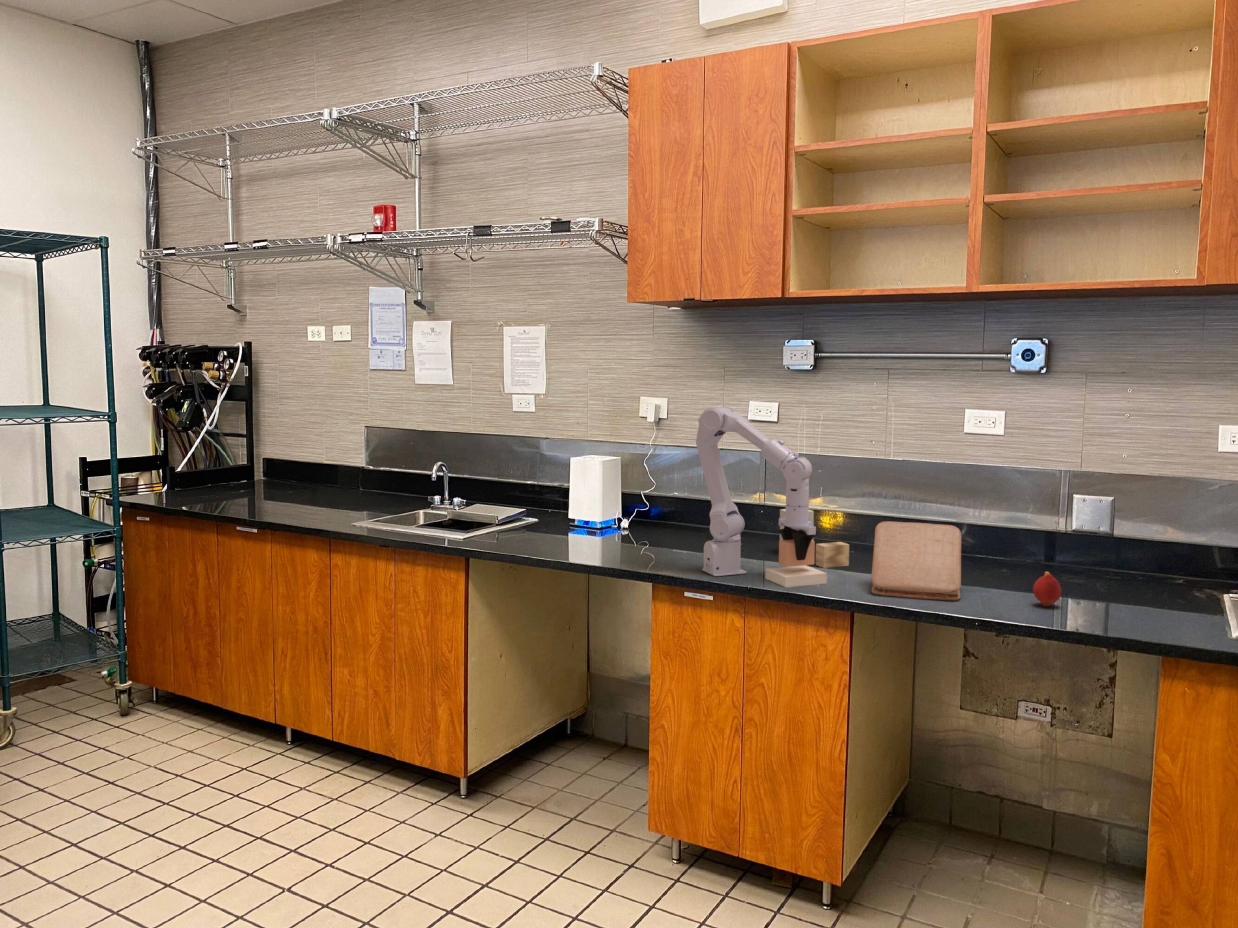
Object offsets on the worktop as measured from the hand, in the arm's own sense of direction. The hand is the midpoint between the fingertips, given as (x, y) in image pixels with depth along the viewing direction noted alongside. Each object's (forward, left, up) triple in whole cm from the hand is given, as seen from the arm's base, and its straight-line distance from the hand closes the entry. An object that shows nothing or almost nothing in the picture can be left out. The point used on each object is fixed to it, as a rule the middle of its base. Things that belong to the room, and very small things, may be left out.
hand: (796, 557), depth 228 cm
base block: (0, 0, -6) cm, 6 cm away
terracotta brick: (0, 0, -2) cm, 2 cm away
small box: (+18, +29, -6) cm, 35 cm away
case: (+23, -18, -6) cm, 30 cm away
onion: (+40, -42, -6) cm, 58 cm away
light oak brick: (+19, +12, -6) cm, 23 cm away
